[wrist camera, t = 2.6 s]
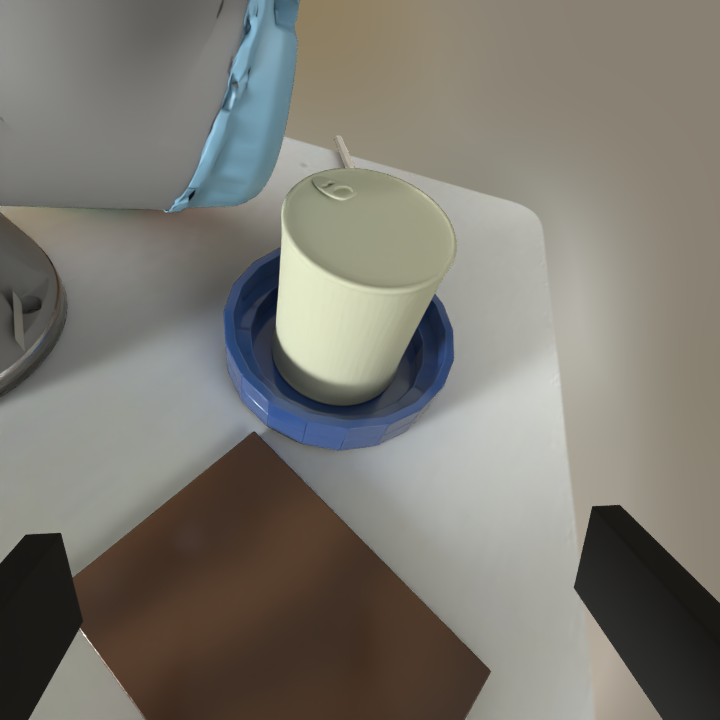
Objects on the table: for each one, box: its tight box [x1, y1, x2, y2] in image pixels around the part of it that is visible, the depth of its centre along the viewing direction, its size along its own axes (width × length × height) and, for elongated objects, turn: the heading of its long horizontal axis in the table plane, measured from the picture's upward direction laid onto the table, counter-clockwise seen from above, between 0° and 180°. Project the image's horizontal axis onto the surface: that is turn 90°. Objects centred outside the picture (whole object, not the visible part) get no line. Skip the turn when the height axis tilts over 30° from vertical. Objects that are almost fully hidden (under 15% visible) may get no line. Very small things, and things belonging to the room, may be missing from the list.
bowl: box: [224, 248, 454, 450], centre depth 31 cm, size 15×15×4 cm
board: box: [72, 432, 491, 720], centre depth 22 cm, size 18×12×1 cm, turn 48°
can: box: [272, 168, 457, 406], centre depth 27 cm, size 9×9×12 cm
